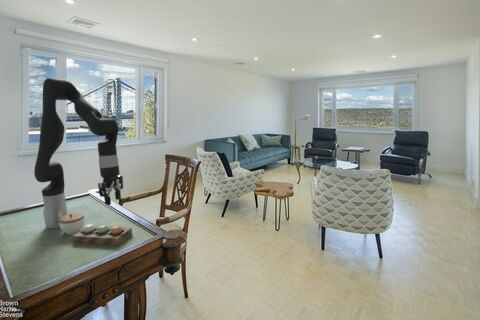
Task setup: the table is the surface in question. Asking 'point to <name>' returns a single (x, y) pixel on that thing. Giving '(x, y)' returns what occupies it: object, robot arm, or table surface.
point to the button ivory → (88, 228)
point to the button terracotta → (116, 230)
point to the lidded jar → (71, 223)
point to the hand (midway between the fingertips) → (113, 201)
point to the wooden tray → (102, 237)
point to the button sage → (102, 229)
